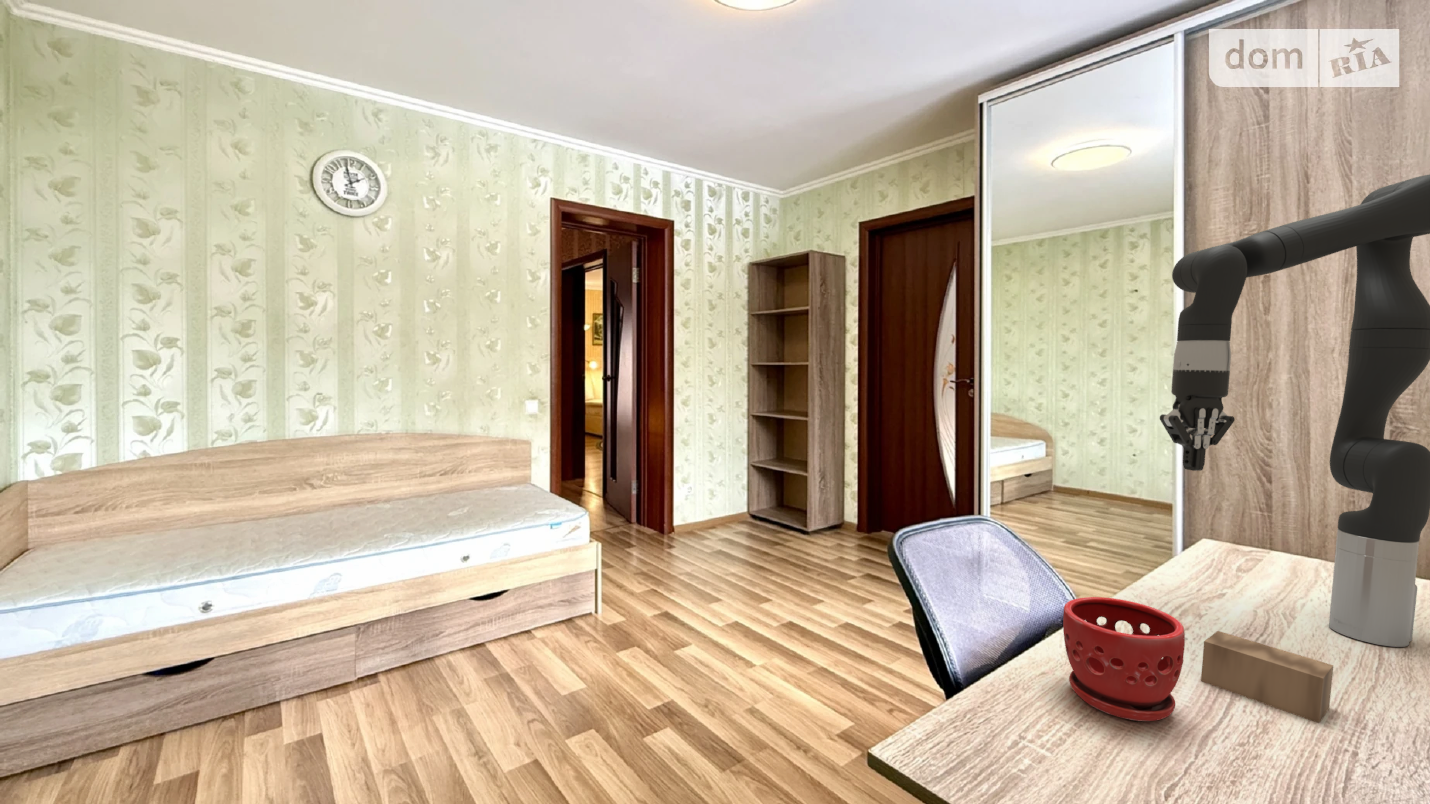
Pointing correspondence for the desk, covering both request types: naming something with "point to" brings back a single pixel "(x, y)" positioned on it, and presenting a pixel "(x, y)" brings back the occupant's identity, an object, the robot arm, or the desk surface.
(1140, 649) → the plant pot
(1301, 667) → the walnut block
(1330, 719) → the desk surface
